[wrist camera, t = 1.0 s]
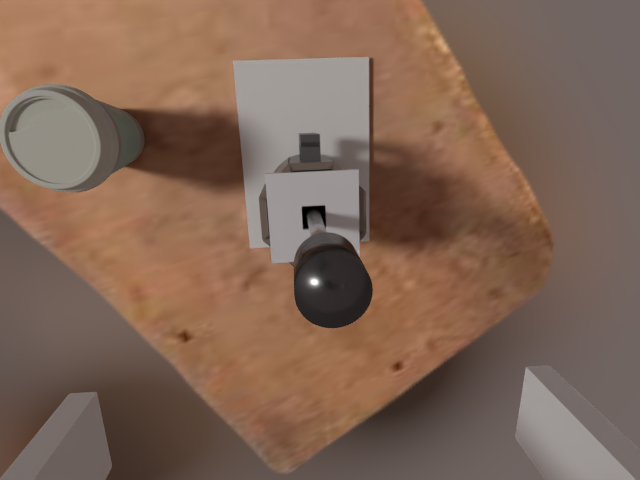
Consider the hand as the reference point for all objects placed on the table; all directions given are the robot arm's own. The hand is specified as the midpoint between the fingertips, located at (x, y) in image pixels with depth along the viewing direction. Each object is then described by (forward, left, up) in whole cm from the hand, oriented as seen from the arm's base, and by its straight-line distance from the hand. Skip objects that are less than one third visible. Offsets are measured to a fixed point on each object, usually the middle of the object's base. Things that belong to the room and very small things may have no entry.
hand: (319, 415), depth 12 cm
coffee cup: (-8, -19, -35) cm, 40 cm away
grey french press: (-2, +1, -34) cm, 34 cm away
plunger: (-1, +1, -23) cm, 23 cm away
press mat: (-5, +1, -34) cm, 35 cm away
